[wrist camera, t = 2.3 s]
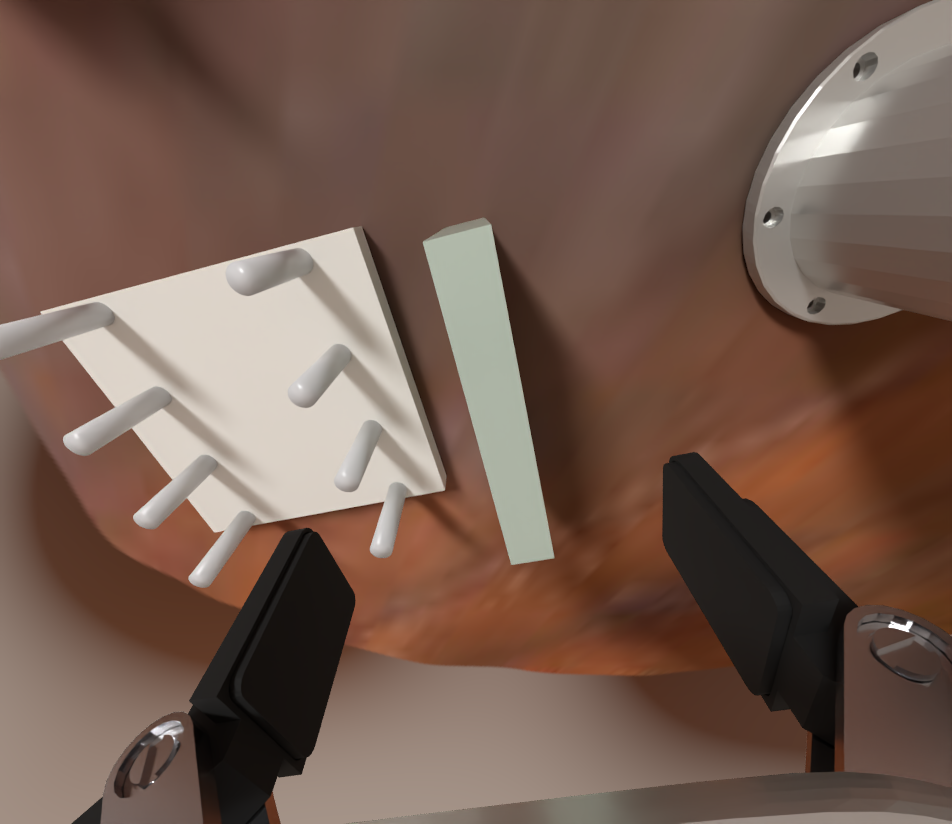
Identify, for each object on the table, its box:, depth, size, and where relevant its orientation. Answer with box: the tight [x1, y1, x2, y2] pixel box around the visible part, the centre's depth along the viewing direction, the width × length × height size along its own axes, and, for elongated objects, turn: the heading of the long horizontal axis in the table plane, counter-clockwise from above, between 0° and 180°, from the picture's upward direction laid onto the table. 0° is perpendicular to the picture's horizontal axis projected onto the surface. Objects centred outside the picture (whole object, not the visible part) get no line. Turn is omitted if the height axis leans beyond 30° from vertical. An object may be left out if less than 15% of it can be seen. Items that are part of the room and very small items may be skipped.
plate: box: [423, 218, 554, 565], centre depth 18 cm, size 14×2×9 cm, turn 13°
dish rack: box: [0, 226, 447, 588], centre depth 20 cm, size 17×16×6 cm
